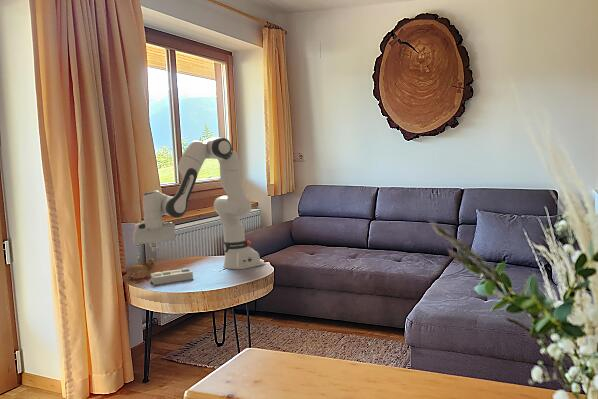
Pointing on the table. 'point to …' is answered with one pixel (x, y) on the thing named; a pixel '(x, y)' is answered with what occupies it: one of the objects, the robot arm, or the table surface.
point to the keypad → (172, 277)
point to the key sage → (166, 272)
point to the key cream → (157, 274)
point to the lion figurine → (143, 268)
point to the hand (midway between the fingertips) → (155, 251)
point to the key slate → (184, 269)
